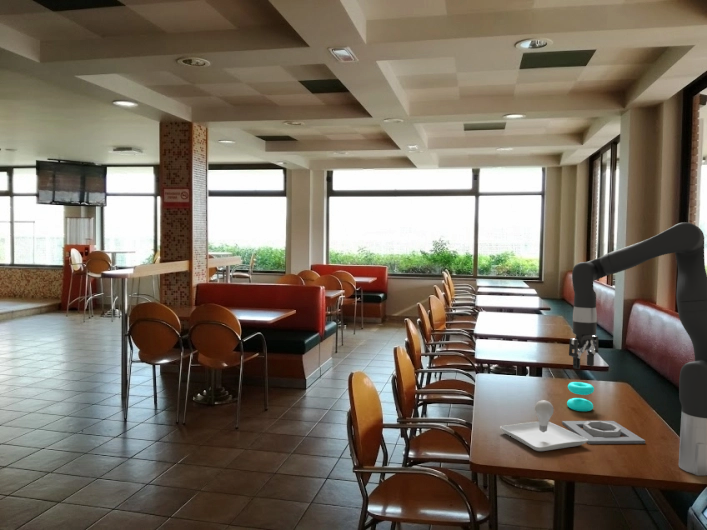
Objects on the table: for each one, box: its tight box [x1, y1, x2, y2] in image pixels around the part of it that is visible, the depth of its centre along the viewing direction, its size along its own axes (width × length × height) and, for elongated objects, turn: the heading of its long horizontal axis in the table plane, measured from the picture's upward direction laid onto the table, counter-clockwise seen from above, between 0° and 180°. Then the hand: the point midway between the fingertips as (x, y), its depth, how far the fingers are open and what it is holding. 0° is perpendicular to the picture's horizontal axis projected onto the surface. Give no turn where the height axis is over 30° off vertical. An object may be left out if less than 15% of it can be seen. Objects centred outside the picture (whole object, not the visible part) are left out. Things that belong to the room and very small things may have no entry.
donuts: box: [566, 381, 595, 412], centre depth 227 cm, size 10×10×10 cm
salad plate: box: [499, 420, 588, 452], centre depth 191 cm, size 21×21×3 cm
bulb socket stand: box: [561, 420, 646, 445], centre depth 199 cm, size 20×20×2 cm
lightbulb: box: [534, 399, 554, 432], centre depth 191 cm, size 6×6×11 cm
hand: (583, 367), depth 192 cm, fingers open, 8 cm apart
